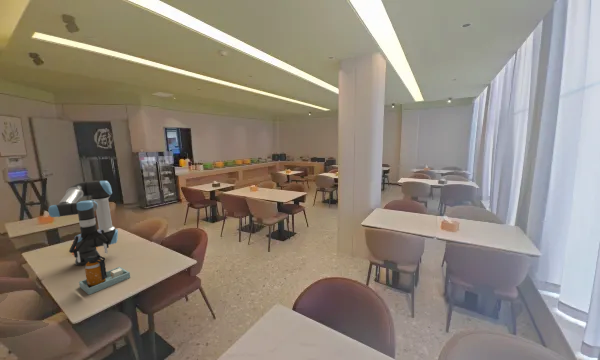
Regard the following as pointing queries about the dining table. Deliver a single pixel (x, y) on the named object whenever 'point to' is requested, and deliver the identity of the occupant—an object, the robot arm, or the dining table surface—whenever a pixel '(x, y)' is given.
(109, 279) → the teal tray
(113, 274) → the cream cube
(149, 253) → the dining table surface
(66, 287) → the dining table surface
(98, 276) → the canister
